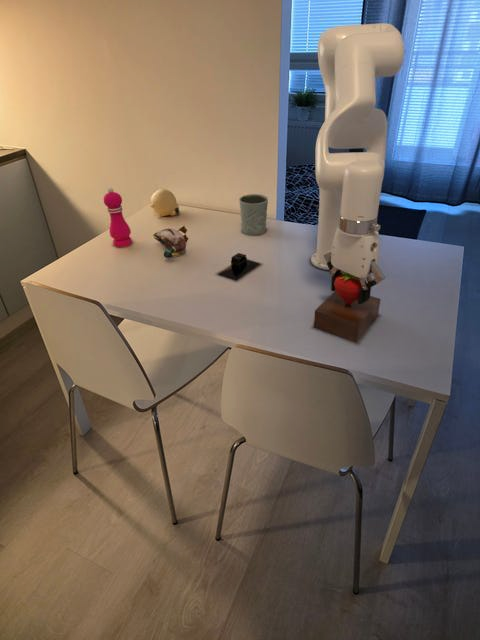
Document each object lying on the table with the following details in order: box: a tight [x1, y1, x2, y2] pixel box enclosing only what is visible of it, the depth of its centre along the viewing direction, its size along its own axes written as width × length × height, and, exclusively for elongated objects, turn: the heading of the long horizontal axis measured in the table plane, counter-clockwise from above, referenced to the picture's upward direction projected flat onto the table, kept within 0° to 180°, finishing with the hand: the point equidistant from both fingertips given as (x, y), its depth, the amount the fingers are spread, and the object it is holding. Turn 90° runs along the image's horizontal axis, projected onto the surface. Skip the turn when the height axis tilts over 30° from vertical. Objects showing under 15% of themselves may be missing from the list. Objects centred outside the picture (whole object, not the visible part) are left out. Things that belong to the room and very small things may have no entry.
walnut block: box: [313, 290, 382, 343], centre depth 100 cm, size 13×11×5 cm
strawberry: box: [334, 271, 362, 305], centre depth 96 cm, size 6×8×10 cm
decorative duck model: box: [152, 225, 190, 259], centre depth 137 cm, size 15×8×15 cm
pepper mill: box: [103, 187, 132, 248], centre depth 142 cm, size 7×7×20 cm
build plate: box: [217, 252, 261, 281], centre depth 126 cm, size 12×7×5 cm, turn 143°
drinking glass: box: [238, 193, 269, 236], centre depth 148 cm, size 10×10×12 cm
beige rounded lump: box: [149, 188, 180, 218], centre depth 167 cm, size 10×12×11 cm
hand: (349, 294), depth 97 cm, fingers closed on strawberry, 7 cm apart
